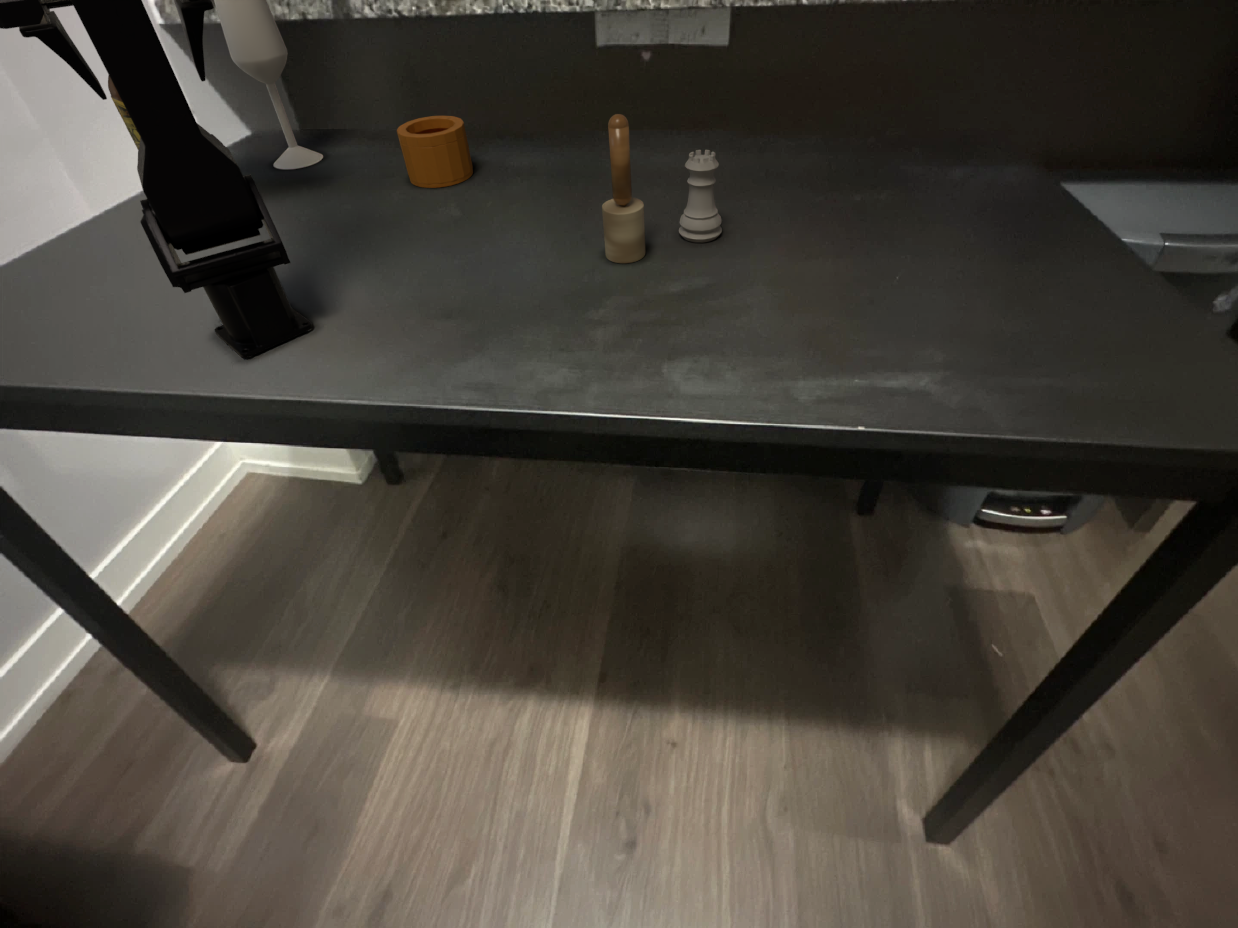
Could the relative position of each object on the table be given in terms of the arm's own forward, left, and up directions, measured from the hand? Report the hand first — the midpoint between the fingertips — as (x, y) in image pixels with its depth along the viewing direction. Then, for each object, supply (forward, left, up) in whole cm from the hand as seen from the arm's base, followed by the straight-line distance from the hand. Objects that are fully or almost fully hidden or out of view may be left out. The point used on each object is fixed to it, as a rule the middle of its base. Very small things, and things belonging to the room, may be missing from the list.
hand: (155, 88), depth 70 cm
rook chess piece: (-45, -32, -15) cm, 58 cm away
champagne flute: (+14, -16, -15) cm, 26 cm away
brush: (-42, -24, -15) cm, 51 cm away
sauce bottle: (+13, -1, -15) cm, 19 cm away
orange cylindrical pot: (-8, -25, -15) cm, 30 cm away
